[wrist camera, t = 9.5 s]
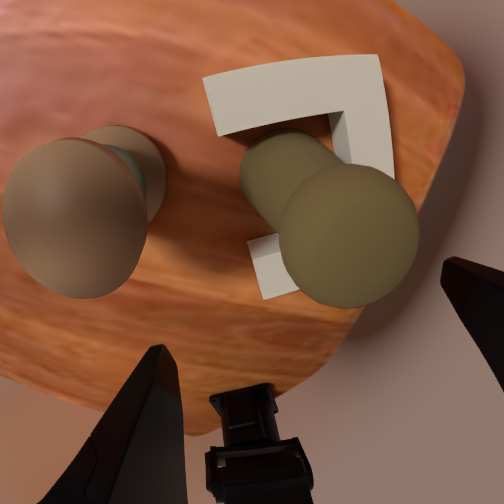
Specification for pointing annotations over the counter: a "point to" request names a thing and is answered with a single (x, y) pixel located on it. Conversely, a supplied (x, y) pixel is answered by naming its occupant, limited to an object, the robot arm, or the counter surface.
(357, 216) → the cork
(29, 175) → the brown spool-shaped piece
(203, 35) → the counter surface
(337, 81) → the notched board
